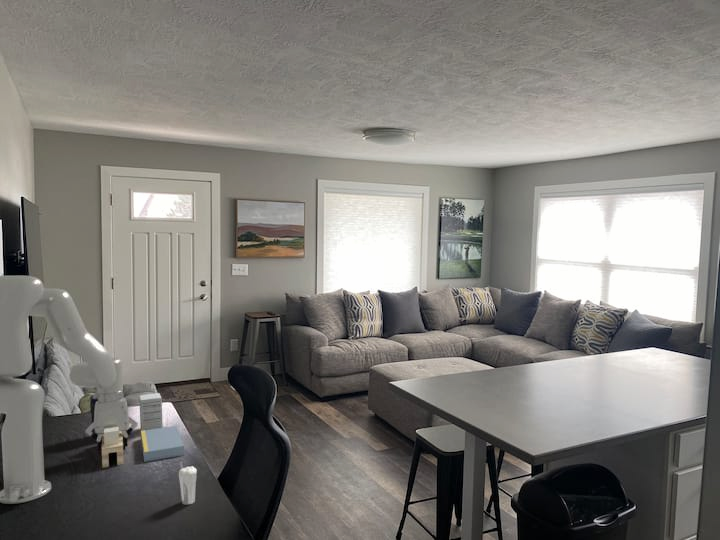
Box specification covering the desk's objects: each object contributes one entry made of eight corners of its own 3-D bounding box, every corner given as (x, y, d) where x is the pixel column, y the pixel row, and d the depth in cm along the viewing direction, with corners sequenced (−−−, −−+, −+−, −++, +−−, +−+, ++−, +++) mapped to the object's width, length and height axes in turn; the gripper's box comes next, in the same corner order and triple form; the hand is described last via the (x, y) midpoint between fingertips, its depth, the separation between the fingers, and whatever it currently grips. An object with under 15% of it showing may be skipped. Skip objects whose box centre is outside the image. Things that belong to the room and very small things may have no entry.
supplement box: (140, 428, 202) (138, 395, 202) (161, 425, 206) (160, 392, 205) (141, 434, 196) (140, 400, 195) (163, 431, 199) (161, 397, 198)
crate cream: (119, 443, 171) (118, 430, 171) (104, 446, 169) (103, 432, 169) (119, 439, 175) (118, 426, 174) (104, 441, 173) (104, 428, 173)
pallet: (123, 464, 169) (123, 445, 169) (102, 468, 167) (101, 449, 167) (122, 441, 189) (121, 424, 189) (103, 444, 187) (102, 427, 187)
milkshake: (189, 495, 147) (188, 459, 146) (201, 501, 144) (199, 463, 143) (174, 501, 143) (173, 464, 143) (185, 507, 140) (184, 469, 140)
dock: (184, 455, 176) (183, 445, 176) (144, 461, 171) (143, 452, 171) (176, 433, 196) (176, 425, 196) (141, 439, 191) (140, 430, 191)
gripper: (80, 403, 170) (82, 459, 171) (139, 395, 177) (142, 449, 178) (81, 397, 177) (84, 451, 178) (138, 390, 184) (140, 442, 185)
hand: (113, 450), depth 178 cm, fingers closed on pallet, 6 cm apart
